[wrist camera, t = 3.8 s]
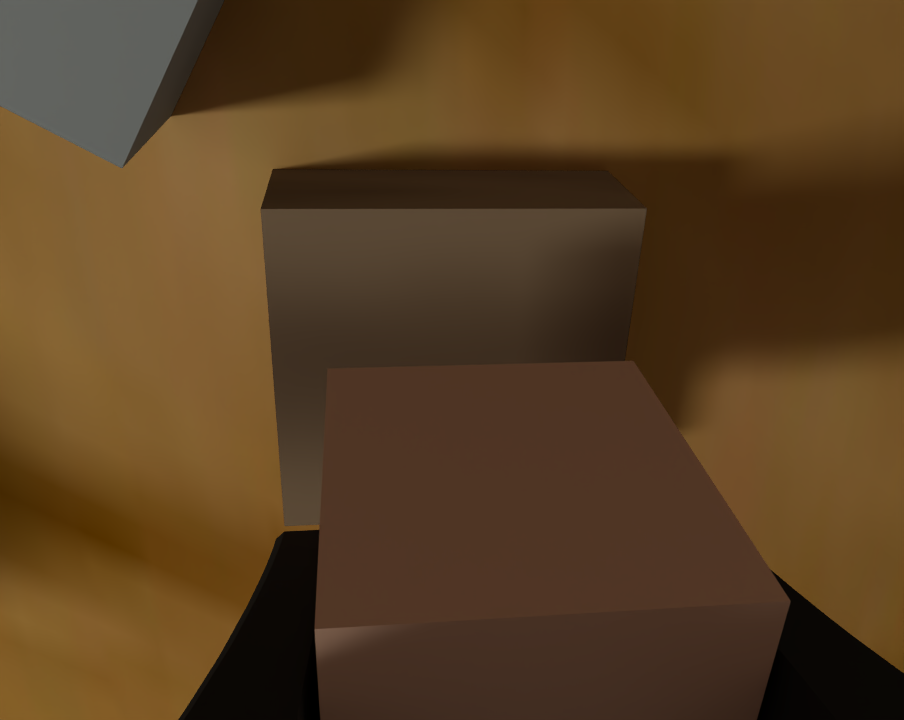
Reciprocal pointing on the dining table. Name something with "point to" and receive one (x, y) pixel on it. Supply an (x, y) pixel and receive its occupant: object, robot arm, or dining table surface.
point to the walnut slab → (435, 282)
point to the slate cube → (100, 66)
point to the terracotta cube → (529, 553)
